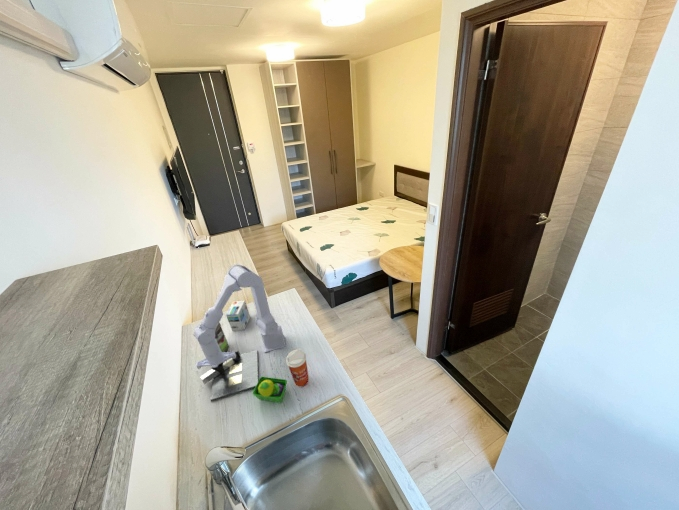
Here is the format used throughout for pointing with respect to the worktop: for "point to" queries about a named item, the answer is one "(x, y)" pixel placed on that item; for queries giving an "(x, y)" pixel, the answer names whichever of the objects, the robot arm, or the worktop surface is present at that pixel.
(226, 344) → the coffee can
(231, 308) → the light bulb box
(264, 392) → the fruit basket
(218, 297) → the robot arm
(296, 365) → the paper cup
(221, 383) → the chassis tray
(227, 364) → the swing bar
